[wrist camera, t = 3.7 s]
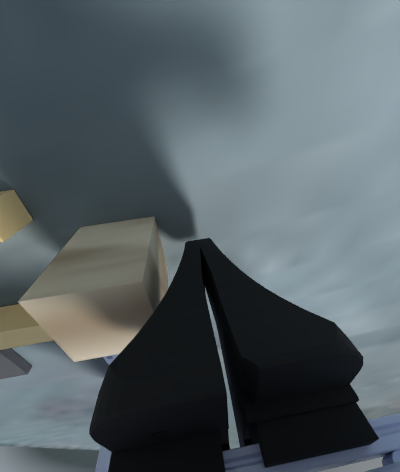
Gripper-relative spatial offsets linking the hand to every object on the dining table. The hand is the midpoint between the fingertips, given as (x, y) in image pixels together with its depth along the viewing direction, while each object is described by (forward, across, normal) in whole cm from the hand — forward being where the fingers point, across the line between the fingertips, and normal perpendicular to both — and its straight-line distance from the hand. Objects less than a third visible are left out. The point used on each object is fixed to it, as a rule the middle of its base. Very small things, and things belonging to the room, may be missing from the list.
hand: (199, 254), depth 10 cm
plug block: (+2, +4, 0) cm, 4 cm away
